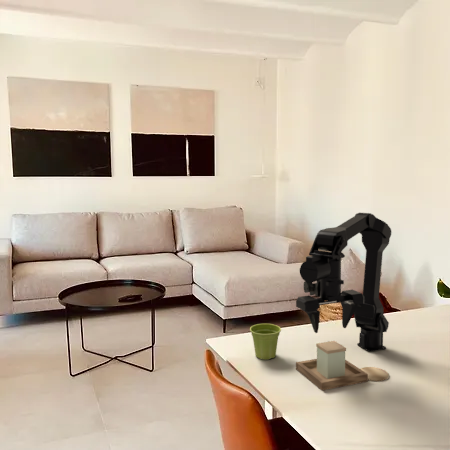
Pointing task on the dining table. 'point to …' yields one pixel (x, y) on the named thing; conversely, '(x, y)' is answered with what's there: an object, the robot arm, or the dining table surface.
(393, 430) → the dining table surface
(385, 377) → the cork coaster
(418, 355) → the dining table surface
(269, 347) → the plant pot
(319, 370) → the sage canister
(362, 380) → the walnut tray
